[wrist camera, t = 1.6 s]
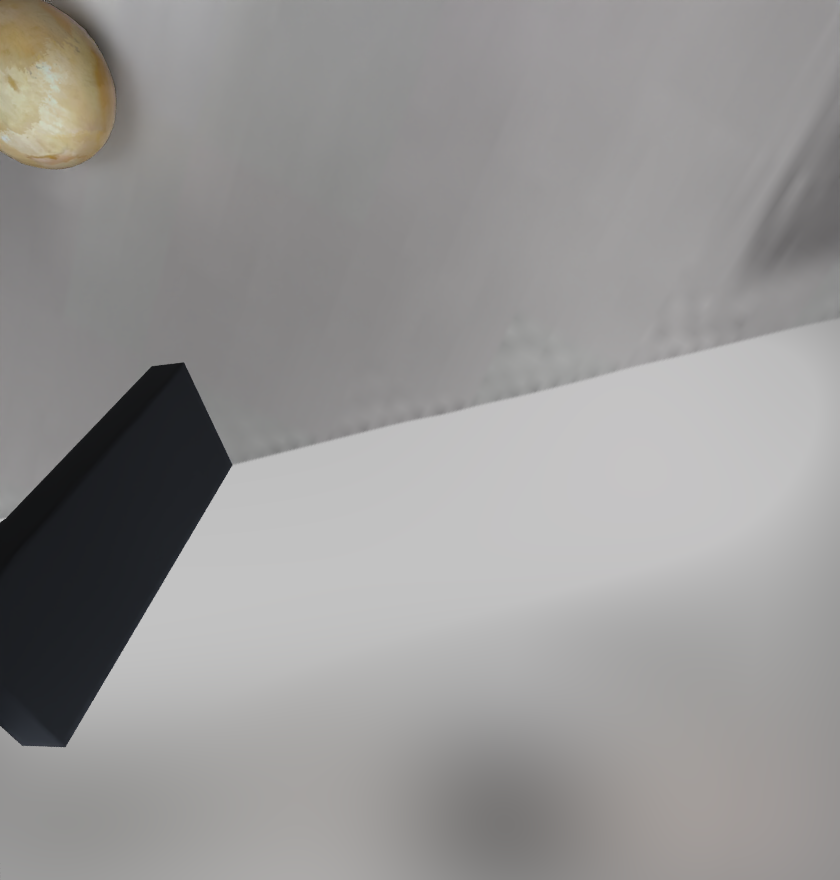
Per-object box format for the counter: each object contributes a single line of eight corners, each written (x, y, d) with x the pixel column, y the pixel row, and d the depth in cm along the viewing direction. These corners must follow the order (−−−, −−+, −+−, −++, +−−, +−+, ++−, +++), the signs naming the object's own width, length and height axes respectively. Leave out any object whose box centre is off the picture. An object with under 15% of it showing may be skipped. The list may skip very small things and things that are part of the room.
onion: (93, -24, 31) (-5, -35, 25) (160, 143, 35) (89, 166, 30) (-30, 16, 33) (-148, 14, 27) (47, 170, 37) (-41, 197, 32)
